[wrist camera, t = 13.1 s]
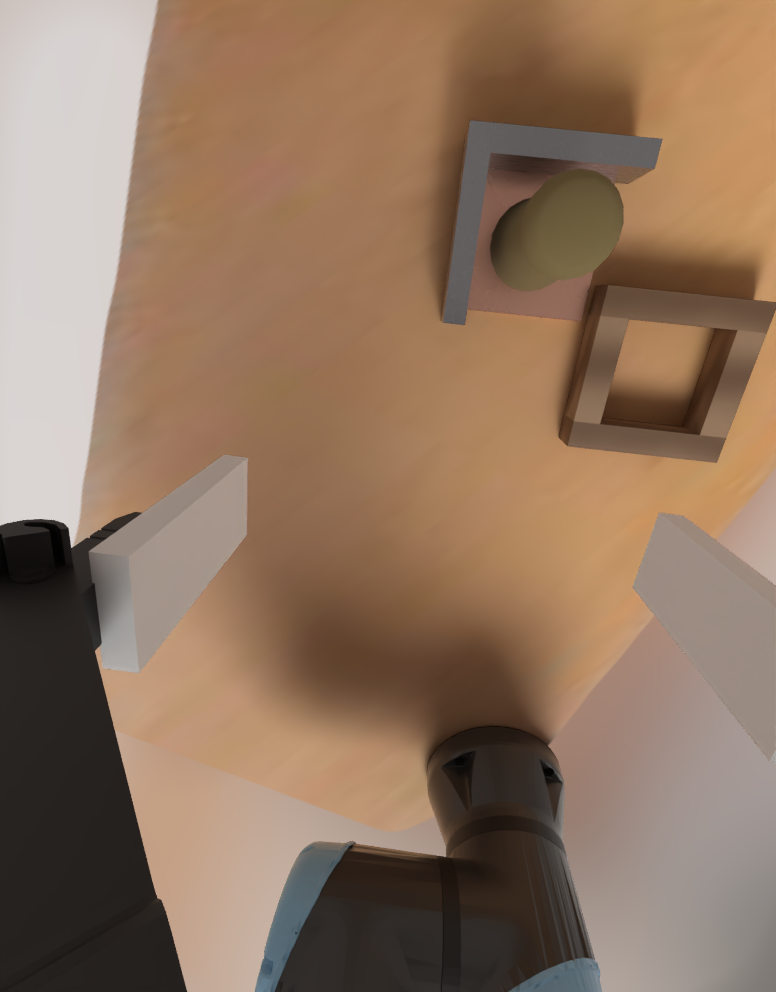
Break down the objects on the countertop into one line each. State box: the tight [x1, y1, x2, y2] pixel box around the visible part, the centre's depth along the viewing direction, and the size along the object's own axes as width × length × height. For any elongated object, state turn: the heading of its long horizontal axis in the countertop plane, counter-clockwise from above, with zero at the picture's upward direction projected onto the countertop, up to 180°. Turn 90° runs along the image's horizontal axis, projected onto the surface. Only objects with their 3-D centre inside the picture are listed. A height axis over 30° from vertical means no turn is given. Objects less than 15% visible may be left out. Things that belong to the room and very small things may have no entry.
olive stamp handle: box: [490, 169, 623, 292], centre depth 29 cm, size 6×6×11 cm
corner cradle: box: [441, 120, 662, 325], centre depth 32 cm, size 12×12×4 cm
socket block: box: [559, 285, 776, 463], centre depth 36 cm, size 12×12×3 cm
